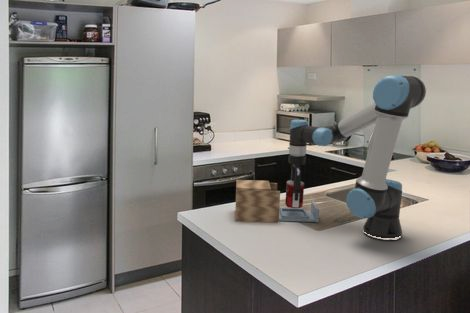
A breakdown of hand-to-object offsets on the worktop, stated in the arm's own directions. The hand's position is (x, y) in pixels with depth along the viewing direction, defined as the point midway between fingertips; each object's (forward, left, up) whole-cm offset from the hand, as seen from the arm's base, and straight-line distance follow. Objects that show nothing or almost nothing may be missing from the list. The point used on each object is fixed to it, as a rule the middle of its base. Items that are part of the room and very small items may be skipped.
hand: (294, 204), depth 191 cm
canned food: (0, 0, -1) cm, 1 cm away
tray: (-1, 0, -6) cm, 6 cm away
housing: (+13, +10, -6) cm, 18 cm away
